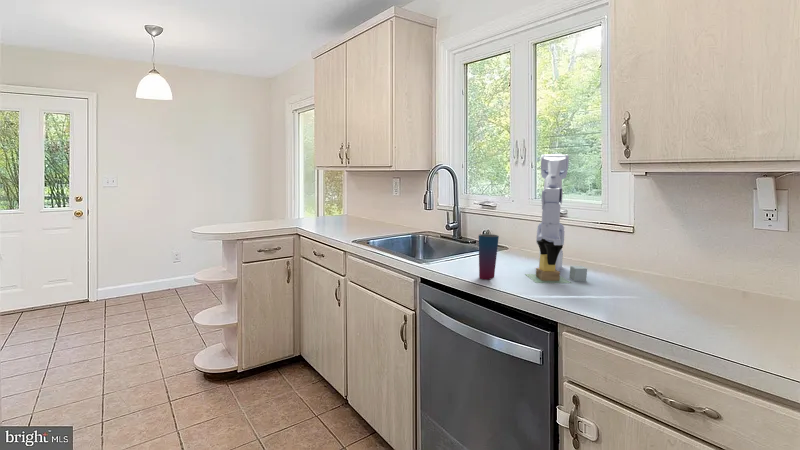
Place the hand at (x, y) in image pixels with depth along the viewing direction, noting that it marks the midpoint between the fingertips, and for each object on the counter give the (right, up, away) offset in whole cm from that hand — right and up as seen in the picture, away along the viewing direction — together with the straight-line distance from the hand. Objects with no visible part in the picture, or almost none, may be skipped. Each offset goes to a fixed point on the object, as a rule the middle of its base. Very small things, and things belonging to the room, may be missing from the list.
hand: (548, 262), depth 145 cm
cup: (-21, -6, +3) cm, 22 cm away
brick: (+10, -6, 0) cm, 12 cm away
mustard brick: (0, -3, 0) cm, 3 cm away
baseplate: (0, -6, +1) cm, 6 cm away
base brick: (0, -5, +1) cm, 6 cm away
